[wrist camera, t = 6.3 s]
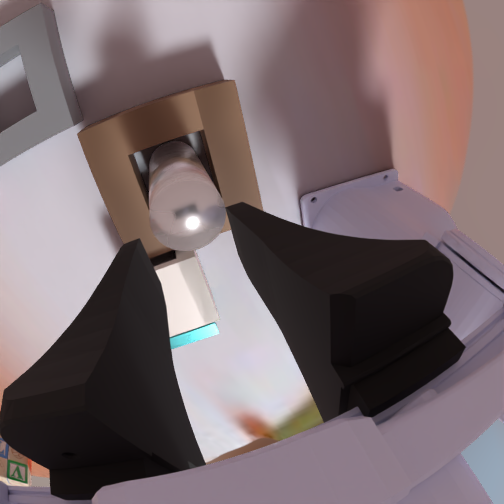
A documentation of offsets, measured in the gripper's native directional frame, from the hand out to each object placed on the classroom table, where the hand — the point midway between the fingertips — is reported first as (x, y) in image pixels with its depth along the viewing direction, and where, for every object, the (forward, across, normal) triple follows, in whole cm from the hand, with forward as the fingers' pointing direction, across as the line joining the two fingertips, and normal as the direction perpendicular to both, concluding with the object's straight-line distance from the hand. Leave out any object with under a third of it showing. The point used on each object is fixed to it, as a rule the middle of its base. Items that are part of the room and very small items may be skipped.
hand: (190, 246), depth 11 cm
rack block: (+10, +8, -9) cm, 16 cm away
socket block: (+10, 0, 0) cm, 10 cm away
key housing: (+10, +3, +8) cm, 14 cm away
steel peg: (+10, 0, 0) cm, 10 cm away
